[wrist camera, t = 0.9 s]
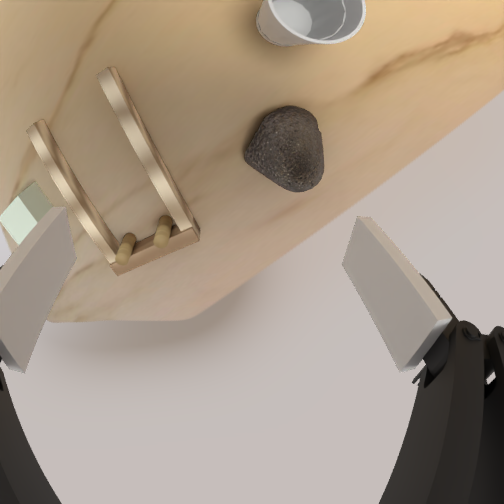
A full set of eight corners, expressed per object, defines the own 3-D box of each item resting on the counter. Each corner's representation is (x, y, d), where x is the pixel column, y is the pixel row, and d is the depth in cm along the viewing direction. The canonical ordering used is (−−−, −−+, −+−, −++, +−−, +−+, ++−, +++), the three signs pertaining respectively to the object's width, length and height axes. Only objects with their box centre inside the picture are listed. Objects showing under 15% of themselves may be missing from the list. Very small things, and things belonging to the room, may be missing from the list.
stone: (246, 110, 34) (219, 173, 31) (294, 83, 27) (270, 151, 25) (298, 151, 39) (281, 212, 37) (347, 135, 33) (334, 204, 30)
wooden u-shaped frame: (35, 126, 26) (15, 135, 22) (114, 67, 25) (99, 67, 21) (122, 263, 40) (114, 285, 36) (200, 229, 38) (198, 249, 34)
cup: (307, 61, 27) (353, 58, 18) (240, 42, 26) (255, 25, 16) (324, 7, 23) (374, -15, 13) (258, -14, 21) (281, -53, 12)
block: (15, 202, 31) (-2, 218, 27) (35, 180, 31) (17, 195, 26) (48, 245, 36) (35, 264, 32) (70, 227, 36) (57, 247, 32)
